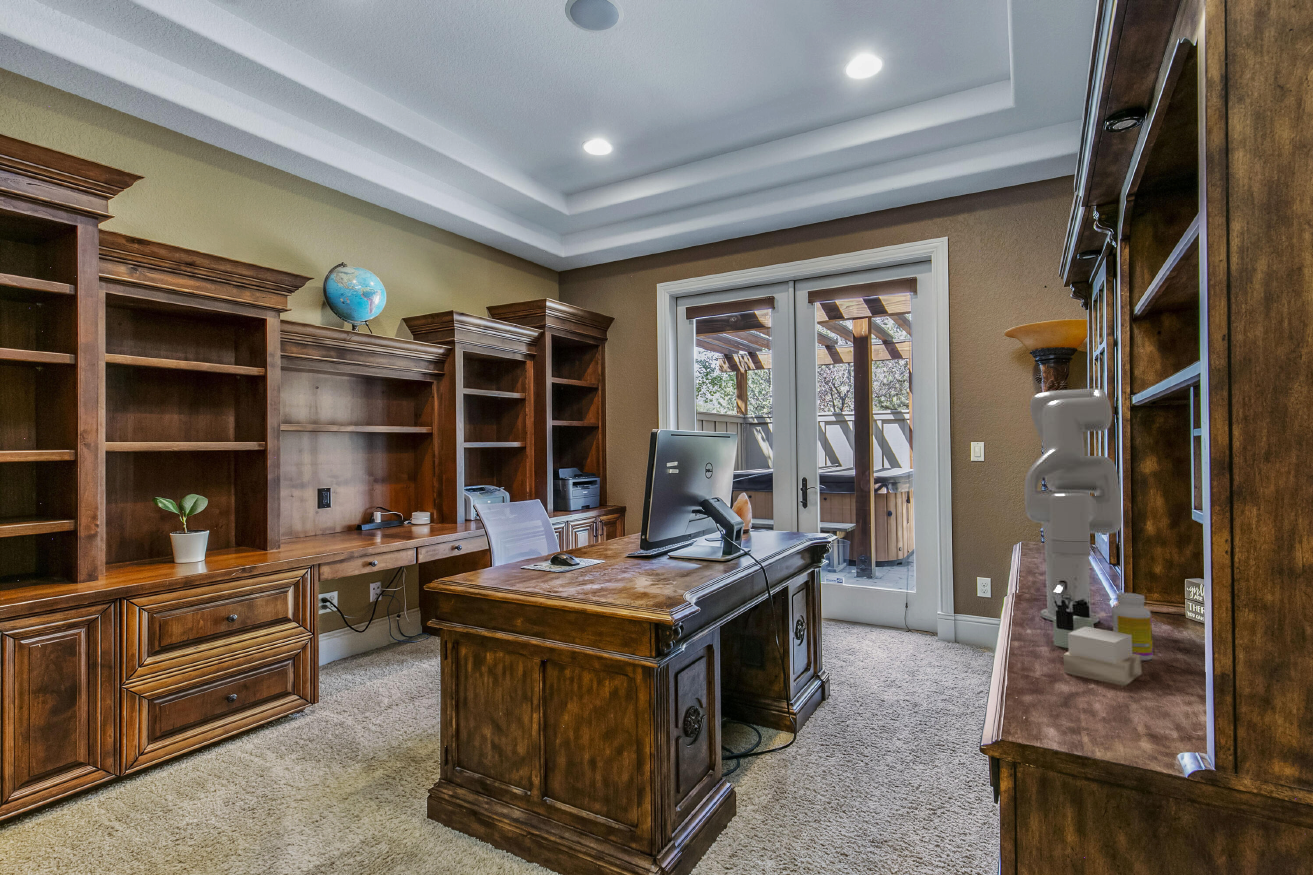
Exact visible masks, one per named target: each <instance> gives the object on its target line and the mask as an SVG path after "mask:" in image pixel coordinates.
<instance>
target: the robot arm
mask: <svg viewBox="0 0 1313 875" xmlns="http://www.w3.org/2000/svg"><path fill="white" fill-rule="evenodd" d="M1029 408H1030V409H1029V410H1030V415H1031V420H1032V422H1033V425H1034V427H1035V430H1036V432H1037V434H1038V436H1039V438H1040V440H1041V443H1042V450H1043V452H1042V455H1041V456H1040V457H1039V458H1038V459H1036V461H1035V462H1034V463H1033V464H1032V465H1031V467H1030V468H1029V470H1028V471H1027V474H1026V477H1025V480H1024V507H1025V508H1024V509H1025V514H1026V515H1027V518H1029V519H1030V520H1031V521H1032V522H1034V523H1035V522H1036V523H1041V526H1042V527H1041V528H1042V533H1043V540H1044V543H1043V544H1044V557H1045V579H1046V581H1045V582H1046V603H1047V605H1046V607H1047V608H1044V609H1042V610H1041V609H1040V616H1041V617H1042V618H1043V619H1046V620H1048V621H1052V622H1053V618H1056V627H1057V628H1058V629H1064V630H1070V631H1072V630H1074V623H1073V616H1079V617H1085V618H1091V619H1093V623H1094V624H1097V623H1098V622H1099V620H1100V619H1099V615H1098V614H1095V613H1094V612H1092V607H1091V606H1092V601H1091V584H1090V582H1091V578H1090V557H1091V556H1092V555H1091V534H1106V535H1107V534H1115V533H1118V531H1120V530H1121V527H1122V522H1123V520H1122V506H1121V497H1120V495H1121V494H1120V487H1119V476H1118V470H1117V467H1116V465H1115V462H1114V461H1113V460H1112V459H1111V458H1109V457H1107V456H1103V455H1087V456H1085V453H1086V452H1085V451H1086V450H1085V441H1084V432H1102V431H1107V430H1108V429H1109V428H1110V427H1111V424H1112V420H1113V412H1112V406H1111V402H1110V400H1109V398H1108V395H1107V393H1106V391H1104V390H1103V389H1102V388H1095V387H1094V388H1080V389H1079V388H1078V389H1063V390H1062V389H1061V390H1060V389H1059V390H1049V391H1043V392H1039V393H1037V394H1035V395H1033V397H1031V399H1030V402H1029ZM1042 479H1044V481H1045V486H1046V488H1048V489H1049V490H1038V487H1039V486H1038V485H1039V482H1040V481H1041V480H1042ZM1090 493H1091V494H1095V495H1091V494H1090Z"/></svg>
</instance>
